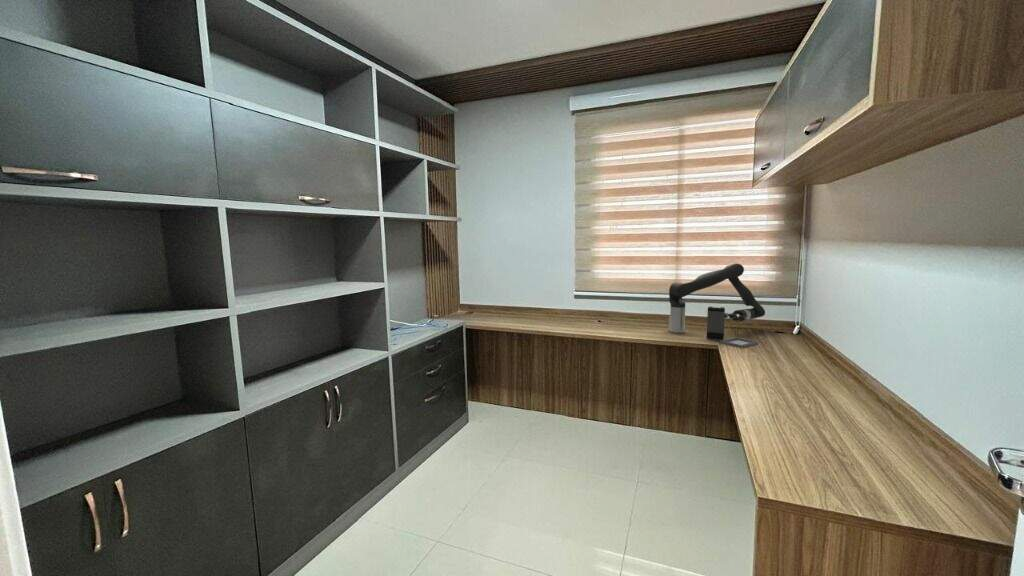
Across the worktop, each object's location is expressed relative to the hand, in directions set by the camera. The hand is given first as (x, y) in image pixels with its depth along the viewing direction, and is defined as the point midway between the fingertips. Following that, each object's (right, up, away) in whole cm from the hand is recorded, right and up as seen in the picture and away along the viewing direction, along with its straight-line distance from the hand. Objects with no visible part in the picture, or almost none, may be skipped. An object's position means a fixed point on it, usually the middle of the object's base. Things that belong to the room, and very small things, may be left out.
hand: (726, 318), depth 249 cm
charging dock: (-1, -14, -16) cm, 21 cm away
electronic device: (-10, -13, -4) cm, 17 cm away
